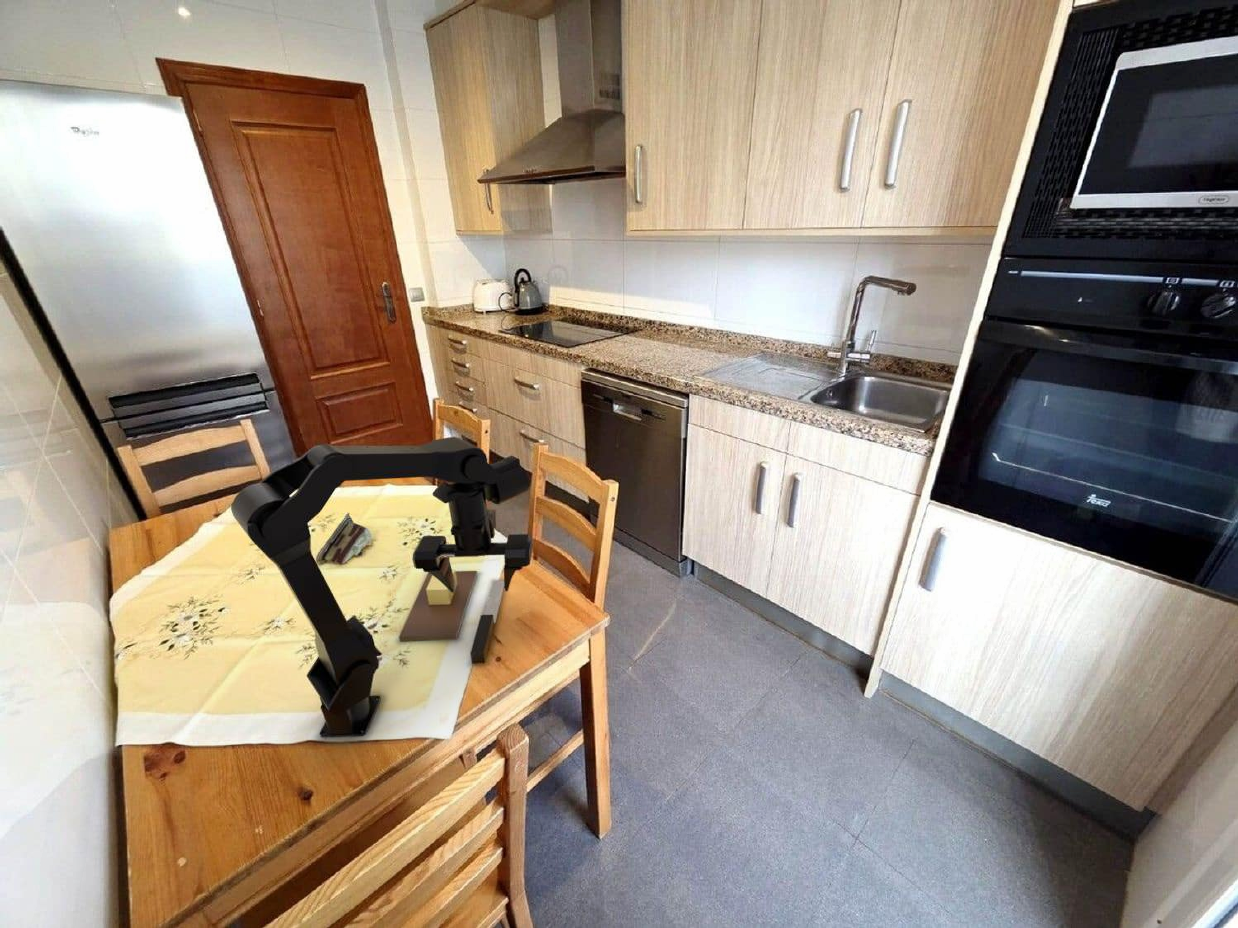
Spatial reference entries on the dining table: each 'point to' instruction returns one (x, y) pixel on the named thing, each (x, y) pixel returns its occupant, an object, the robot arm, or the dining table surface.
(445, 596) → the butter block
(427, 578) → the board
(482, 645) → the knife
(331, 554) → the chocolate cake
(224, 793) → the dining table surface
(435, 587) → the butter slab
